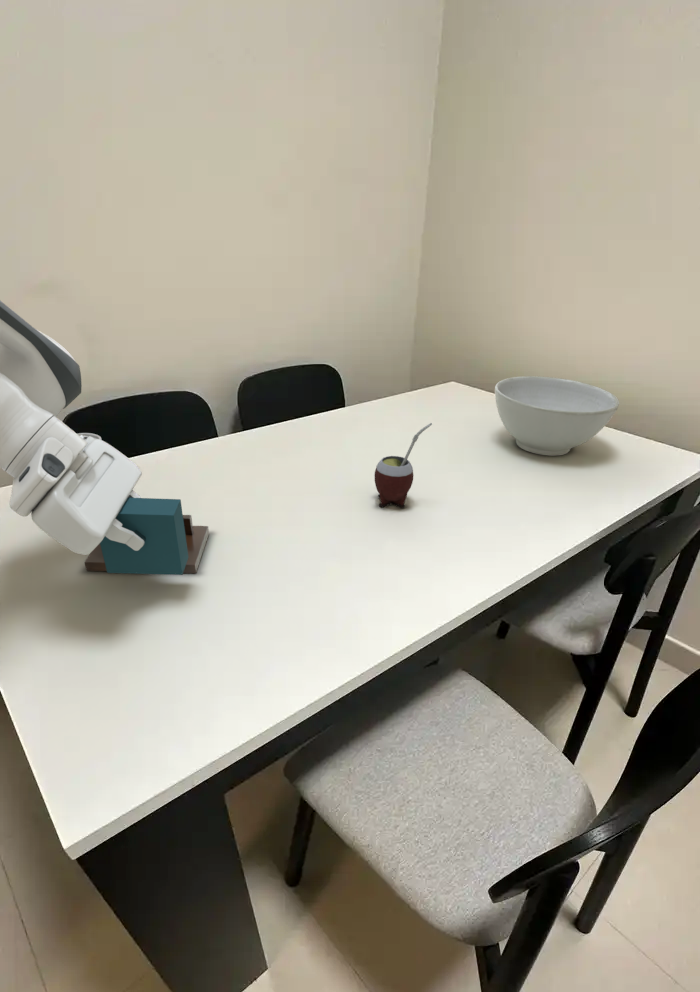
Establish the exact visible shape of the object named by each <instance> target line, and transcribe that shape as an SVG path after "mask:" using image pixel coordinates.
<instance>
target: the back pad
mask: <svg viewBox="0 0 700 992" xmlns="http://www.w3.org/2000/svg"><path fill="white" fill-rule="evenodd" d="M183 515H184V514H183V508H182V499H179V498H155V497H154V498H153V497H152V498H151V497H149V498H148V497H141V498H127V500H126V502H125V503H124V505H123V507H122V508H121V510H120V512H119V513H118V515H117V517H116V518H115V519H117V520H118V521H119V522H121V523H122V524H123V525H122V526H121V527H123V528H126V529H128V530H130V531H133V532H134V531H135V530H137V531H138V532H140V533H141V534H142V535H144V536H145V537H146V541H145V543H144V545H143V546H142V547H141V548H140V549H139V550H138V551H135V550H133V549H132V548H131V547H129V546H128V545H126V544H124V543H120V542H116V541H112V540H110V539H108V538H107V537H106V536H105V537H104V538H103V540H102V541H101V542H100V545H101V549H102V553H103V558H104V562H105V566H106V570H107V571H106V573H107V574H131V575H132V574H134V575H135V574H136V575H137V574H138V575H139V574H141V575H170V576H171V575H173V576H174V575H176V576H183V574H184V573H183V572H184V569H185V566H186V563H187V560H188V550H187V543H186V535H185V528H184V521H183Z"/></svg>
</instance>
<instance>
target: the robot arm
mask: <svg viewBox="0 0 700 992" xmlns="http://www.w3.org/2000/svg"><path fill="white" fill-rule="evenodd" d="M81 373H82V372H81V367H80V365H79V364H78V363H77V361H76V359H75V358H74V356H73V355H72V354H71V353H70V352H69V351H68V350H67V349H66V348H65V347H64V346H63V345H61V344H60V343H59V342H58V341H56V339H54V338H52V337H51V336H49V335H48V334H46V333H44V332H43V331H40V330H39V329H37V328H35V327H33V326H32V325H31V324H30V323H28V322H27V321H26V320H25V319H24V318H23V317H22V316H20V315H19V314H18V313H17V312H16V311H14V310H13V309H12V308H11V307H10V306H8V305H7V304H6V303H4V302H3V301H2V300H1V299H0V469H1V470H3V472H6V473H7V474H8V475H9V476H11V477H12V478H13V479H12V486H11V493H10V497H9V508H10V509H11V510H12V511H13V512H15V513H16V514H17V515H19V516H21V517H24V518H25V517H28V516H29V515H30V517H31V520H32V522H33V523H34V524H35V526H37V527H38V529H40V530H41V531H42V532H44V533H45V534H46V535H48V536H49V537H50V538H51V539H53V540H55V541H56V542H57V543H59V544H60V545H61V546H63V547H65V548H66V549H68V550H69V551H71V552H72V553H75V554H78V555H83V556H89V554H90V553H91V552H92V551H93V550H94V549H95V548H96V547H97V546H98V545H99V543H100V542H101V541H102V540H103V538H104V537H105V536H106V537H107V538H108V539H110V540H112V541H116V542H120V543H124V544H126V545H128V546H129V547H131V548H132V549H133V550H135V551H138V550H139V549H140V548H141V547H142V546H143V545H144V543H145V541H146V537H145V536H144V535H142V534H141V533H140V532H138V531H137V530H135V531H134V532H133V531H130V530H128V529H126V528H123V527H121V526H122V525H123V524H122V523H121V522H119V521H118V520H117V519H115V518H116V517H117V515H118V513H119V512H120V510H121V508H122V507H123V505H124V503H125V502H126V500H127V498H142V497H141V496H140V495H139V494H138V493H137V492H136V491H134V489H135V486H136V485H137V484H138V481H139V480H140V478H141V477H142V475H143V473H142V472H143V471H142V470H141V469H140V467H139V466H138V464H137V463H135V462H134V461H133V460H131V459H130V458H129V457H127V456H126V455H125V454H123V453H122V452H121V451H119V450H118V449H117V448H115V447H114V446H112V445H111V444H110V443H108V442H107V441H104V440H100V439H94V438H93V437H91V436H89V437H88V436H83V435H81V434H79V433H76V432H75V431H74V430H73V429H72V428H70V427H69V426H68V425H67V424H65V423H64V422H63V421H62V420H61V419H59V418H58V417H57V416H58V415H59V414H60V412H62V411H63V410H64V409H67V407H68V406H69V405H70V404H71V403H72V402H73V401H74V400H75V399H76V398H78V396H80V395H81V394H82V374H81ZM78 434H79V435H78ZM85 439H86V440H85Z"/></svg>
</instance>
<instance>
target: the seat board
mask: <svg viewBox="0 0 700 992" xmlns="http://www.w3.org/2000/svg"><path fill="white" fill-rule="evenodd" d="M183 521H184V528H185V535H186V543H187V550H188V560H187V563H186V566H185V569H184V572H183V574H197V572H198V568H199V565H200V562H201V559H202V556H203V554H204V551H205V547H206V544H207V541H208V538H209V535H210V529H209V526H208V525H193V519H192V514H183ZM84 566H85V570H86V571H87V572H107V570H106V566H105V562H104V558H103V553H102V549H101V545H100V543H99V545H98V546H97V547H96V548H95V549H94V550H93V551H92V552H91V553H90V554H88V555H87V557H86V559H85V560H84Z"/></svg>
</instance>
